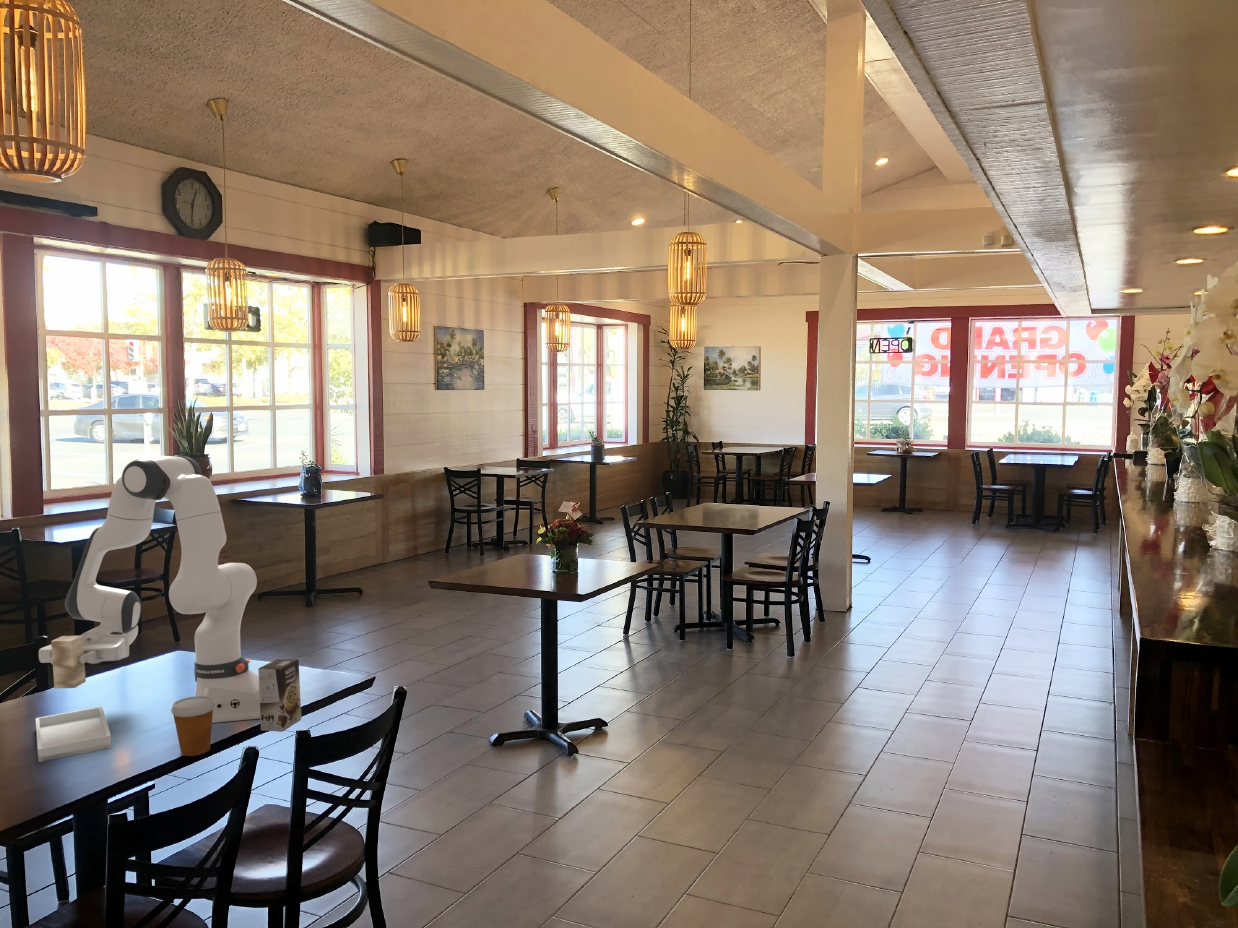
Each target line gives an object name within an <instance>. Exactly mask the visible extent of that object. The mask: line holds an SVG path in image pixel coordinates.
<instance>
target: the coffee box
mask: <svg viewBox="0 0 1238 928" xmlns="http://www.w3.org/2000/svg"><path fill="white" fill-rule="evenodd" d="M257 671H258V676H259V694H260V716H261V718H260V730H261V731H266V732H278V733H283V732H285V731H286V730H287V729H289V728H291V727H292V726H294V725H295V724H297V723H299V722H300V721H302V705H301V702H302V701H301V686H300V685H301V683H300V664H299V659H296V658H277V659H275V660H272V661H271V662H268V663H266V664H264V665H262V666H261V667H258V669H257Z"/></svg>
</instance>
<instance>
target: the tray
mask: <svg viewBox="0 0 1238 928" xmlns="http://www.w3.org/2000/svg"><path fill="white" fill-rule="evenodd" d="M35 728H36V743H37V744H36V745H37V746H36V747H37V756H38V762H39V763H41V762H46V761H51V759H52V760H57V759H60V758H66V757H73V756H75V755H80V754H86V753H91V752H96V751H102V750H106V749H110V748H112V738H111V732H110V728H109V725H108V721H107V719H106V715H105V711H104V708H103V706H96V707H91V708H84V709H79V710H73V711H67V712H62V713H61V712H60V713H57V714H52V715H51V714H50V715H45V716H39V717H36V718H35Z"/></svg>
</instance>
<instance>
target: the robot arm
mask: <svg viewBox="0 0 1238 928" xmlns="http://www.w3.org/2000/svg"><path fill="white" fill-rule="evenodd" d="M163 499H165V500H168V501H169V502H170V503H171V505H172V507H173V511H174V515H175V521H176V526H177V530H178V536H179V540H180V541H179V542H180V548H181V556H180V565H179V568H178V573H177V575H176V577H175V579H174V580H173V581H172V582H171V584H170V586H169V590H168V598H169V603H170V604H171V606H172V607H173V609H174V610H175V611H176V612H177V613H179V614H182V615H195V614H196V615H198V614H204V613H205V615H204V617H203V620H202V622H201V623H200V624H199V626H198V627H197V628H196V630H195V633H194V649H195V662H194V663H193V665H194V666H193V667H194V670H193V671H194V679H195V682H196V687H195V688H196V689H195V696H208V697H211V698H212V699H213V702H214V703H215V706H214V709H213V715H212V724H214V723H222V722H223V723H224V722H235V721H246V720H256V719H257V720H258V719H261V716H260V694H259V674H256V673H255V672H253V671H251V669H249V667H250V666H249V663H251V658H250V657H248V658H247V659H246V658H245V657H243V656H242V654H241V653H242V652H241V651H242V649H241V626H242V625H241V624H242V620H243V616H244V612H245V609H246V605H247V604H248V601H249V599H250V597H251V595H252V594H253V593H254V592H255V590H256V589H257V584H258V580H257V579H258V578H257V574H256V572H255V570H254V569H253V568H252V567H251V566H250V564H247V563H244V562H226V563H224V564H219V556H220V552H221V550H222V548H223V547H224V546H225V545H226V542H227V532H226V528H225V523H224V520H223V515H222V511H221V510H222V509H221V506H220V503H219V499H218V496H217V492H216V490H215V488H214V486H213V483H212V481H211V480H210V479H209V478H208V477H207V476H204V475H203V474H202V469H201V467H200V464H199V463H198V462H197V461H196V460H195V459H193V458H191V457H189V456H185V455H175V456H174V455H172V456H171V455H167V456H166V455H155V456H150V457H140V458H137V459H134V460H132V461H131V462H129V463H128V464H126V465H125V467H124V468H123V471H122V473H121V476H120V477H119V478H118V479H117V480H116V482H115V484H114V487H113V489H112V492H111V495H110V499H109V504H108V507H107V508H108V510H107V514H106V519H105V520H104V522H103V523H102V525H101V526H99V527H96V528H95V529H94V530H93V531H92V532H91V535H90V536H89V538H88V540H87V542H86V545H85V547H84V550H83V553H82V556H81V559H80V561H79V565H78V567H77V570H76V573H75V577H74V579H73V582H72V584H71V586H70V587H69V589H68V591H67V592H68V593H67V594H66V597H65V601H64V607H65V609H66V612H67V613H68V615H69V616H70V617H71V618H72V619H75V620H82V621H92V622H98V623H100V625H98V626H95V627H94V628H91V629H90V630H87V631H85V632H83V633H82V634H81V635H83V650H84V655H79V656H77V663H84V664H85V663H88V664H92V665H93V664H100V663H101V662H114V661H115V662H116V661H120V660H122V659H125V658H128V657H129V656H130V645H132V643H133V642H134V641H135V640H136V638H137V636H138V633H139V623H140V620H141V617H142V612H143V611H142V608H143V604H142V601H141V599H140V597H139V596H138V594H137V593H136V592H135V591H132V590H127V589H122V588H118V587H116V588H115V587H111V586H105V585H101V584H98V583H97V581H96V579H97V577H98V576H97V575H98V573H99V570H100V567H101V564H102V562H103V558H104V556H105V554H106V553H108V552H109V551H113V550H118V549H125V548H130V547H133V546H135V545H138V544H140V543H142V542H144V540H146V539H147V538H148V536H149V535H150V533H151V530H152V527H153V523H154V522H153V521H154V515H155V514H154V513H155V506H156V503H157V501H161V500H163ZM38 660H39V662H40V663H41V664H43V663H44V664H46V663H50V664H51V665H53V660H52V646H51V644H49V645H46V646H43V647H41V648H39V650H38Z"/></svg>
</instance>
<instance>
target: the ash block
mask: <svg viewBox="0 0 1238 928" xmlns="http://www.w3.org/2000/svg"><path fill="white" fill-rule="evenodd" d="M50 645H51V646H52V660H53V664H52V673H53V688H54V689H75V688H77V687H79V686H80V685H83V684H85V683H86V681H87V680H86V669H85V668H86V666H85V665H86V664H85V663H77V656H79V655H84V650H83V635H82V634H80V635H61V636H59V637H57V638H55V639H52V640H51V641H50Z"/></svg>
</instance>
